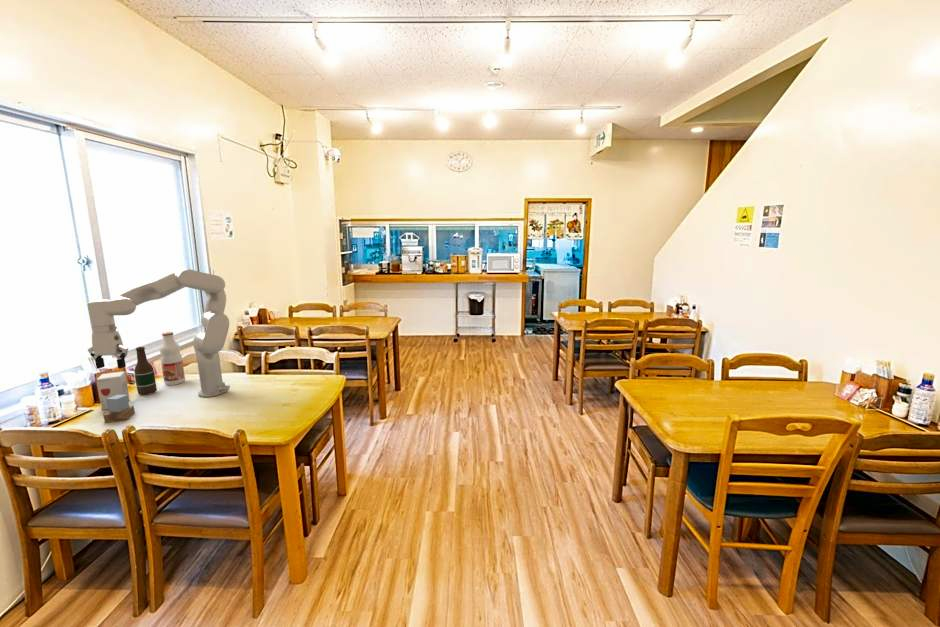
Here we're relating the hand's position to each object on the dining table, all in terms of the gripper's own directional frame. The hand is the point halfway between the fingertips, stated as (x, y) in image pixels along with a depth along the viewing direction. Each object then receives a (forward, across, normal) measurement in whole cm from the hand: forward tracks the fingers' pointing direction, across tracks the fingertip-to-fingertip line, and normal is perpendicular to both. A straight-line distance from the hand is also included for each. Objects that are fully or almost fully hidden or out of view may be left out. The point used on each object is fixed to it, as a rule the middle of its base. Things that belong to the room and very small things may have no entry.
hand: (111, 367), depth 180 cm
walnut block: (+23, 0, 0) cm, 23 cm away
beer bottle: (+23, +13, -30) cm, 40 cm away
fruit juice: (+23, +10, -45) cm, 52 cm away
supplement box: (+23, +15, -14) cm, 31 cm away
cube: (+19, 0, 0) cm, 19 cm away
